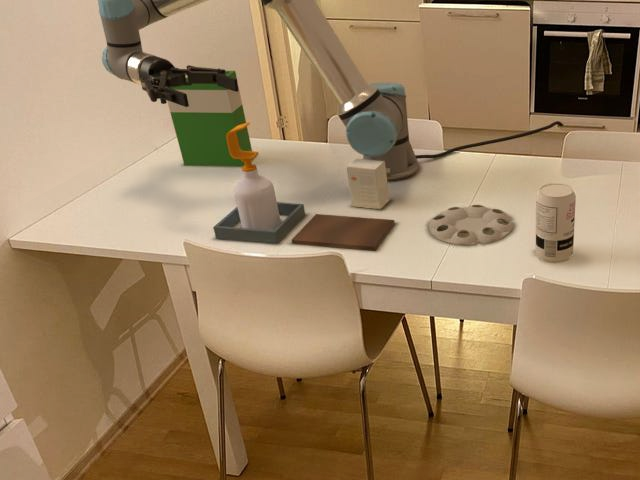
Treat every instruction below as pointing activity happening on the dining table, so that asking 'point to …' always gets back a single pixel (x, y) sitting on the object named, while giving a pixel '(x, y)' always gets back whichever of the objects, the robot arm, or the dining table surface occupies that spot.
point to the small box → (368, 183)
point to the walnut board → (344, 232)
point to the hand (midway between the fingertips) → (212, 92)
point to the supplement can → (555, 222)
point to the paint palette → (470, 225)
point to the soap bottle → (253, 189)
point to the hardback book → (209, 124)
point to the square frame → (257, 235)
